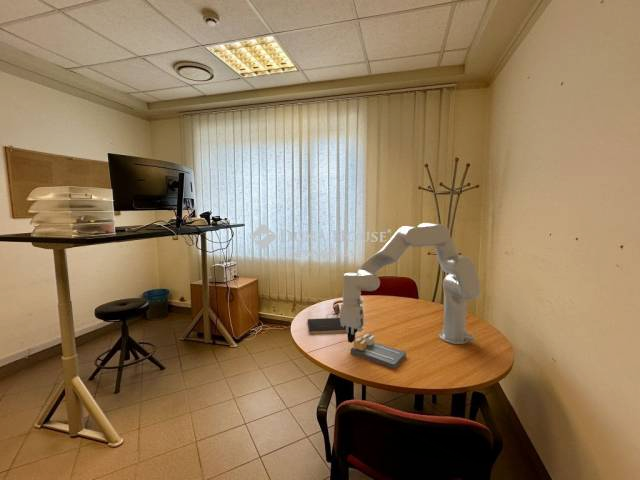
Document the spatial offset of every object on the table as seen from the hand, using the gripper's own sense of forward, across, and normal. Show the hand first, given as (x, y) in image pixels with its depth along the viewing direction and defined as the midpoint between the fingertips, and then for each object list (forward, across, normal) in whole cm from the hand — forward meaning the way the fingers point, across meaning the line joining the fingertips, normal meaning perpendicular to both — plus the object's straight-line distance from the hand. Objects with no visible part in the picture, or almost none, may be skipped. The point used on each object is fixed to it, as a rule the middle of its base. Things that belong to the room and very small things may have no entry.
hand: (351, 341), depth 126 cm
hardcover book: (+5, +22, -14) cm, 27 cm away
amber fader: (+2, -5, 0) cm, 5 cm away
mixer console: (+4, -12, -3) cm, 13 cm away
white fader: (+2, -5, -6) cm, 8 cm away
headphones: (+4, +27, -34) cm, 44 cm away
